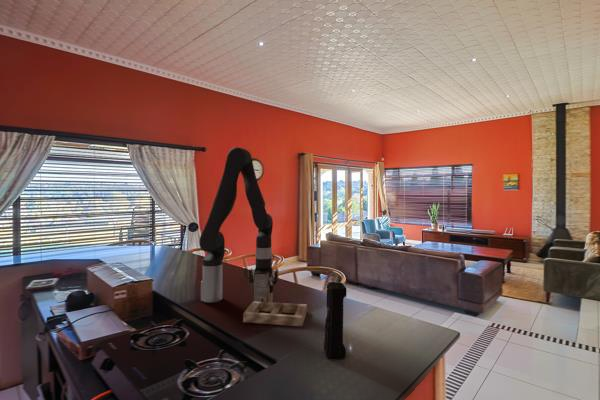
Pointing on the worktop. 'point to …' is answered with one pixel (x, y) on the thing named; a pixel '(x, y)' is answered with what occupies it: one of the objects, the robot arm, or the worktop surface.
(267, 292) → the coffee box
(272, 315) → the wooden divided tray
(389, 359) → the worktop surface
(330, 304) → the portable radio
